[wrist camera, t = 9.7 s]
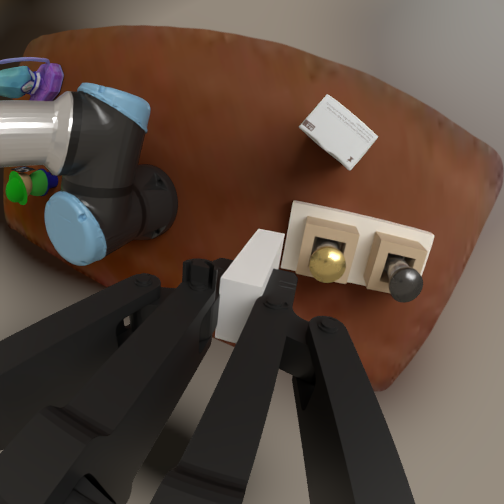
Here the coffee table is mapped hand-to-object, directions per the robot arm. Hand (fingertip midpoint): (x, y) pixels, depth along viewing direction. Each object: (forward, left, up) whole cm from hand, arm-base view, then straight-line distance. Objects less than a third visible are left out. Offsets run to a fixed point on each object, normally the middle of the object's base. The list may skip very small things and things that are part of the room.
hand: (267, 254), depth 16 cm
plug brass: (+6, -9, -32) cm, 34 cm away
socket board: (+12, -9, -34) cm, 38 cm away
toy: (-62, -6, -35) cm, 71 cm away
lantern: (-65, +20, -35) cm, 76 cm away
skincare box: (+4, +9, -35) cm, 36 cm away
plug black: (+18, -9, -31) cm, 37 cm away
